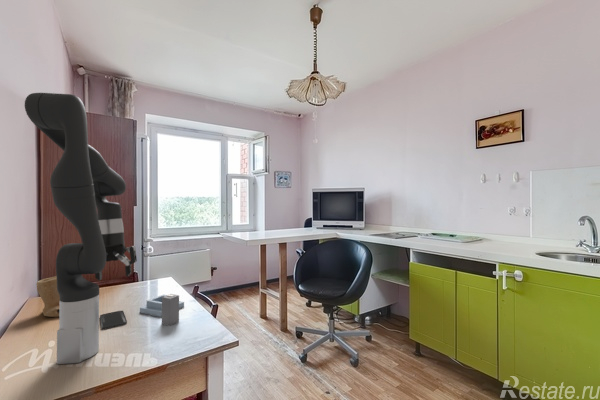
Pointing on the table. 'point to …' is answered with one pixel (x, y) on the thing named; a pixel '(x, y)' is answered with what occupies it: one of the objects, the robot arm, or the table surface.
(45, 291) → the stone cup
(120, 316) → the phone
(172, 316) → the block
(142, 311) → the outlet box
